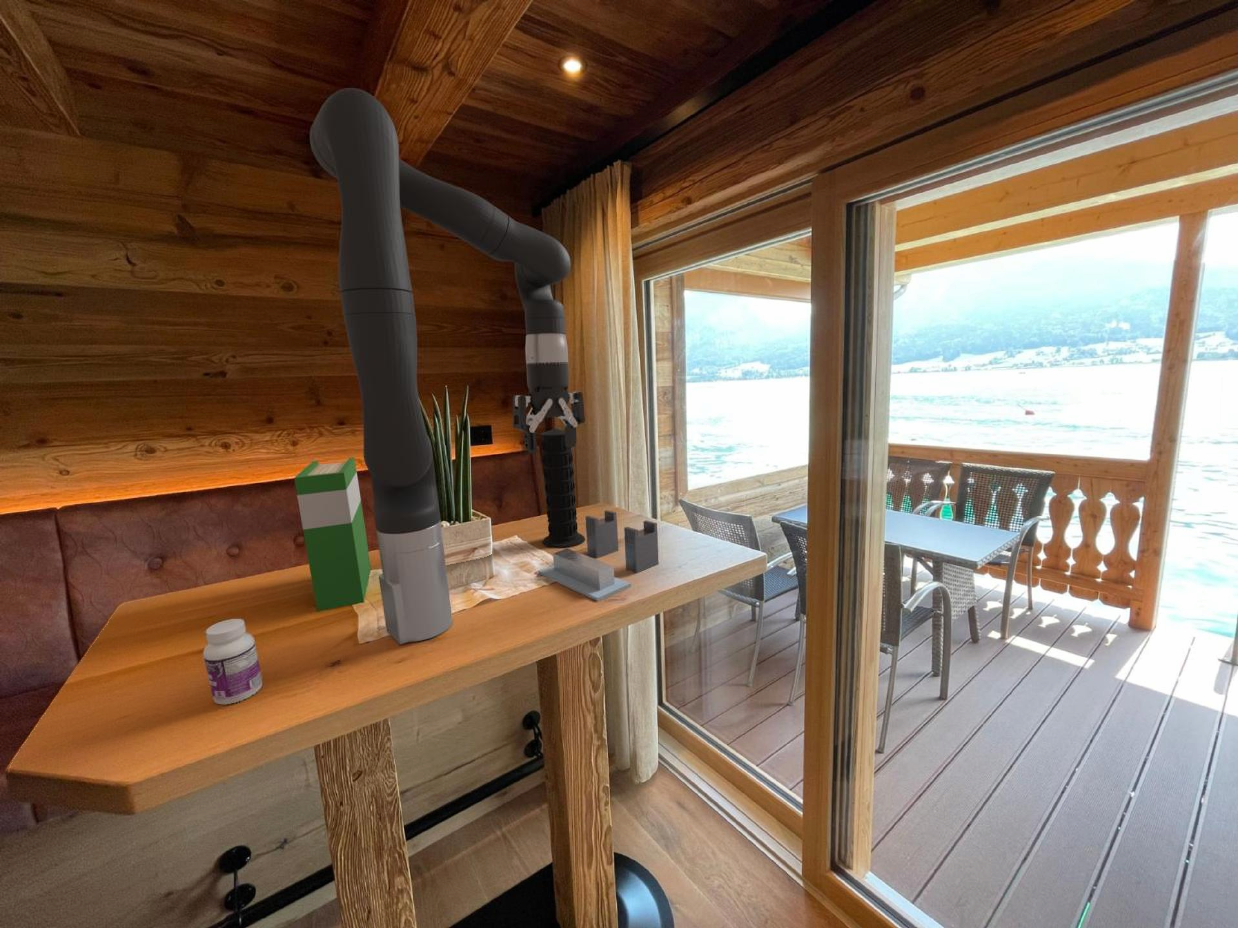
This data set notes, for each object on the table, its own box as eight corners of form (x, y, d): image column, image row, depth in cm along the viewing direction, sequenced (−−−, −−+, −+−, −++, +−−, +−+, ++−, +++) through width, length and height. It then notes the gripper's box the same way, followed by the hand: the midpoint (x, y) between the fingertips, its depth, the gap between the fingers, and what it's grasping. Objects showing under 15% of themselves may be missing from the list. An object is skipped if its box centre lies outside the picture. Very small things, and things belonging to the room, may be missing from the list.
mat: (597, 601, 89) (597, 597, 89) (538, 573, 102) (538, 570, 102) (630, 586, 94) (630, 583, 94) (571, 561, 107) (570, 559, 107)
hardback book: (331, 575, 106) (312, 461, 102) (371, 568, 109) (354, 457, 104) (317, 611, 90) (294, 477, 86) (363, 602, 93) (343, 472, 88)
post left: (596, 558, 109) (594, 519, 107) (587, 554, 111) (585, 516, 109) (618, 550, 113) (616, 512, 111) (609, 547, 115) (607, 509, 113)
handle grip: (552, 532, 127) (534, 546, 117) (544, 426, 122) (525, 431, 112) (591, 534, 124) (575, 549, 114) (584, 425, 119) (567, 431, 109)
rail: (600, 590, 92) (598, 571, 91) (554, 569, 102) (552, 553, 101) (614, 584, 94) (613, 566, 93) (568, 564, 104) (567, 548, 103)
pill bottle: (206, 697, 67) (191, 629, 65) (252, 676, 71) (239, 612, 69) (223, 711, 64) (207, 640, 62) (270, 688, 68) (257, 621, 66)
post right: (636, 573, 100) (634, 530, 98) (626, 569, 102) (624, 527, 100) (658, 563, 104) (657, 523, 102) (647, 560, 106) (646, 520, 104)
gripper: (524, 361, 85) (530, 457, 88) (591, 360, 94) (594, 447, 97) (501, 362, 91) (507, 452, 94) (566, 361, 100) (570, 443, 103)
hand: (551, 449), depth 96 cm, fingers open, 8 cm apart
